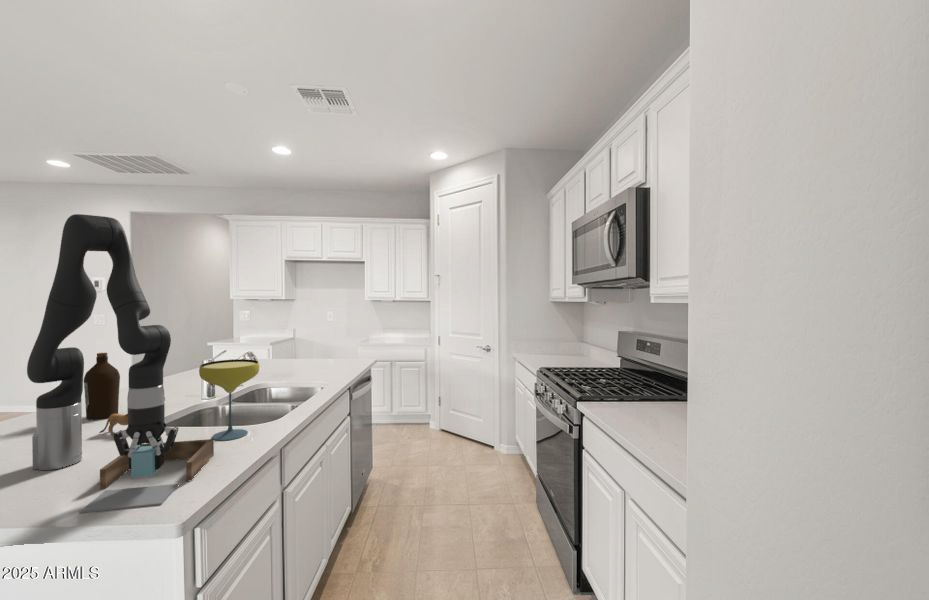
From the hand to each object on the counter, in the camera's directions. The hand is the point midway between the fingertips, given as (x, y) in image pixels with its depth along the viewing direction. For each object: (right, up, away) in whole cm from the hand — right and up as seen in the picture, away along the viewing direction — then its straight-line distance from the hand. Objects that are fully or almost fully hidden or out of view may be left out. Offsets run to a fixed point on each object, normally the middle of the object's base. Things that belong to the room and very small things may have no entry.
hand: (146, 469), depth 106 cm
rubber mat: (+1, -5, -6) cm, 8 cm away
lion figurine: (-37, -3, +39) cm, 54 cm away
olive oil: (-60, -2, +55) cm, 82 cm away
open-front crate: (-3, -4, +8) cm, 10 cm away
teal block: (0, -1, 0) cm, 1 cm away
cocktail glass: (0, -4, +37) cm, 37 cm away
